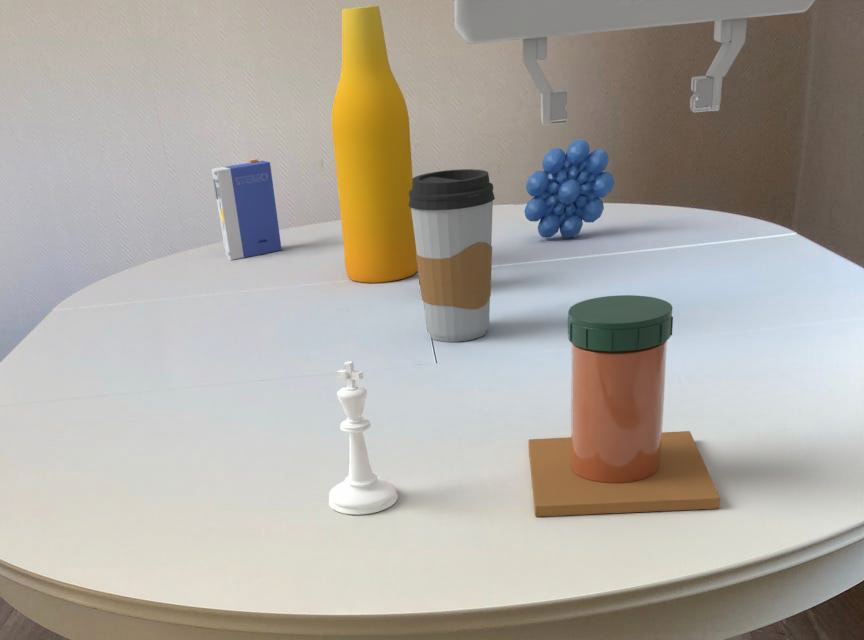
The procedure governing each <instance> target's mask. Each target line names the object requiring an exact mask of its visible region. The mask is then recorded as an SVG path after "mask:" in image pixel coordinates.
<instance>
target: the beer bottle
mask: <svg viewBox="0 0 864 640" xmlns="http://www.w3.org/2000/svg"><path fill="white" fill-rule="evenodd" d="M382 21H383V20H382V15H381V10H380V6H379V5H370V6H359V7H350V8H349V7H348V8H343V9H341V72H340V78H339V80H338V85H337V87H336V91H335V94H334V98H333V103H332V108H331V121H330V122H331V134H332V141H333V142H332V143H333V153H334V163H335V172H336V173H335V174H336V181H337V182H336V183H337V192H338V201H339V213H340V221H341V228H342V229H341V230H342V240H343V241H342V242H343V254H344V255H343V256H344V266H345V272H346V275H347V276H348V278H349V279H350V280H351V281H353V282H358V283H365V284H366V283H367V284H375V283H378V284H379V283H387V282H396V281H399V280H404V279H407V278H409V277H413V276H414V275H415V274H416V273H417V272H418V265H417V258H416V243H415V235H414V227H413V220H412V212H411V207H409V200H410V197H409V191H410V190H412V181H413V178H414V177H413V162H412V146H411V133H410V130H411V129H410V116H409V111H408V106H407V103H406V99H405V97H404V95H403V92H402V90H401V87H400V85H399V84H398V82H397V80H396V77H395V75H394V74H393V71H392V69H391V65H390V61H389V55H388V51H387V45H386V40H385V33H384V27H383V22H382Z"/></svg>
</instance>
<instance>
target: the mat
mask: <svg viewBox="0 0 864 640" xmlns="http://www.w3.org/2000/svg"><path fill="white" fill-rule="evenodd" d="M527 441H528V456H529V466H530V475H531V486H532V487H531V488H532V496H533V507H534V516H535V517H537V518H538V517H539V518H540V517H556V516H557V517H558V516H560V517H561V516H581V515H602V514H604V515H607V514H622V513H623V514H625V513H650V512H668V511H670V512H671V511H673V512H674V511H694V510H713V509H714V510H716V509H720V504H721V497H720V494H719V493H718V490H717V488H716V486H715V484H714V481H713V479H712V476H711V475H710V473H709V470H708V468H707V466H706V464H705V462H704V459H703V457H702V455H701V452H700V451H699V448H698V446H697V444H696V441H695V440H694V438H693V435H692V433H691V431H690V430H684V431H683V430H681V431H667V432H666V431H662V442H661V460H660V468H659V470H658V471H657V472H656V473H655V474H653V475H651V476H649V477H647V478H644V479H641V480H638V481H632V482H625V483H604V482H596V481H592V480H588V479H585V478H582V477H580V476H578V475H577V474H575V473H574V472H573V470H572V469H571V436H568V437H567V436H566V437H550V438H548V437H547V438H532V439H531V438H530V439H528V440H527Z"/></svg>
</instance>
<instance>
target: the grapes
mask: <svg viewBox="0 0 864 640" xmlns="http://www.w3.org/2000/svg"><path fill="white" fill-rule="evenodd" d="M590 151H591V150H590V145H589V142H588V141H586V140H585V139H581V138H580V139H575V140H574V141H572V143H570V145H568V147H567V150H566V152H565V150H563V149H562V148H560V147H559V148H558V147H557V148H556V147H555V148H552V149H551V150H549V151H548V152H547V153H545V155H544V157H543V159H542V162H541V164H542V169H543V170H537V171H535V172H533V173H532V174H531V175H529V176H528V179H527V181H526V185H525V188H526V192H527V194H528V195H529V196H530V197H532V198H531V199H530V200H528V202H526V205H525V208H524V216H525V218H526V220H527V221H529V222H538V225H537V233H538V234H539V236H540V237H542V238H544V239H545V238H546V239H547V238H552V237H553V236H554V235H556V234H557V233H558V232H559V233H560V236H562V237H563V238H564V239H573V238H574V237H576V236H577V235H578V234H580V232H581V230H582V227H583V225H584V222H585V223H594V222H596V221H597V220H598V219H600V218H601V216H602V213H603V212H604V209H605V207H604V202H603V200H602V199H603V198H605V197H606V196H608V195H609V194H611V192H612V190H613V187H614V185H615V178H614V176H613V174H611V173H610V172H608V171H605V170H606V169H607V166H608V164H609V161H610V159H609V154H608V152H607V151H606V150H605V149H603V148H595V149H594V150H592V151H591V152H590Z"/></svg>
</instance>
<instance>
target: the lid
mask: <svg viewBox="0 0 864 640" xmlns="http://www.w3.org/2000/svg"><path fill="white" fill-rule="evenodd" d="M673 325H674V316H673V305H672V304H671V303H670V302H668V301H667V300H664V299H661V298H657V297H653V296H647V295H634V294H633V295H632V294H631V295H630V294H629V295H627V294H626V295H625V294H621V295H608V296H600V297H594V298H589V299H585V300H581V301H579V302H577V303H575V304H573V305H572V306H570V307H569V309H568V315H567V339H568V341H569V342H570V344H571V345H572V344H574V345H576V346H578V347H581V348H585V349H590V350H597V351H631V350H639V349H645V348H649V347H653V346H656V345H659V344H662V343H664V342H665V341H667V342H668V340H670V338H671V337H672V336H673V327H674V326H673Z"/></svg>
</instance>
